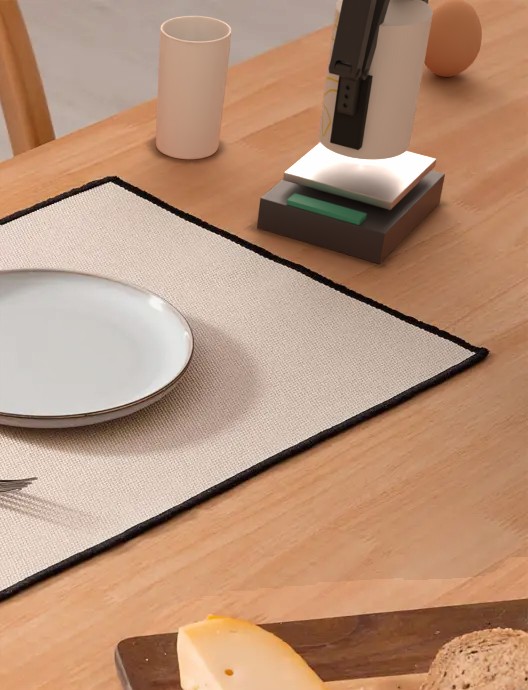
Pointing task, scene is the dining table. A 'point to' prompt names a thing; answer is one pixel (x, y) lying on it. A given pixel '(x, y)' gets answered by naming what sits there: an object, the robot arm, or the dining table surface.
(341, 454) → the dining table surface
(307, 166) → the scale pan
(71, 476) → the dining table surface
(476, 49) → the egg
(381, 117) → the white cylinder
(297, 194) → the scale
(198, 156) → the mug
